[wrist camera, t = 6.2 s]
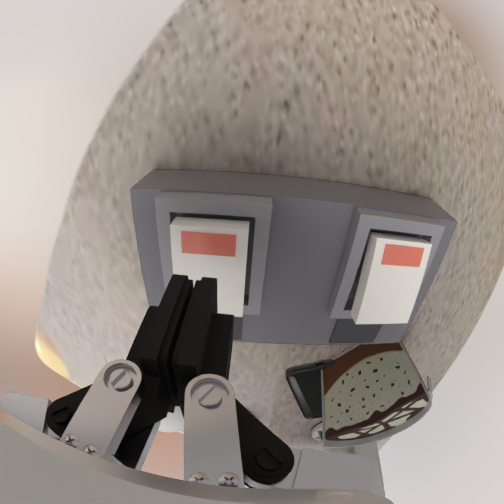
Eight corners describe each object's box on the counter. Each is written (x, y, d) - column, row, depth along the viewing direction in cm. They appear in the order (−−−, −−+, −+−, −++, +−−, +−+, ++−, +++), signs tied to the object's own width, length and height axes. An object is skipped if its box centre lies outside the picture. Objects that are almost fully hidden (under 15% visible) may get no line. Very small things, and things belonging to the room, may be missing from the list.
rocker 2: (400, 313, 17) (407, 323, 16) (350, 313, 17) (356, 324, 16) (422, 238, 15) (432, 244, 14) (369, 231, 15) (377, 238, 14)
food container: (338, 385, 32) (349, 453, 24) (310, 370, 30) (318, 448, 22) (420, 336, 27) (449, 407, 19) (401, 313, 25) (435, 395, 17)
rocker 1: (243, 304, 17) (242, 318, 16) (181, 299, 17) (176, 311, 16) (249, 221, 15) (248, 230, 14) (176, 216, 15) (169, 225, 14)
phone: (305, 419, 37) (283, 374, 29) (305, 413, 38) (283, 366, 30) (356, 409, 35) (352, 359, 28) (354, 403, 36) (350, 351, 29)
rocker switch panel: (386, 312, 25) (402, 350, 21) (167, 299, 25) (152, 341, 20) (430, 198, 18) (464, 228, 14) (153, 169, 18) (123, 195, 14)
